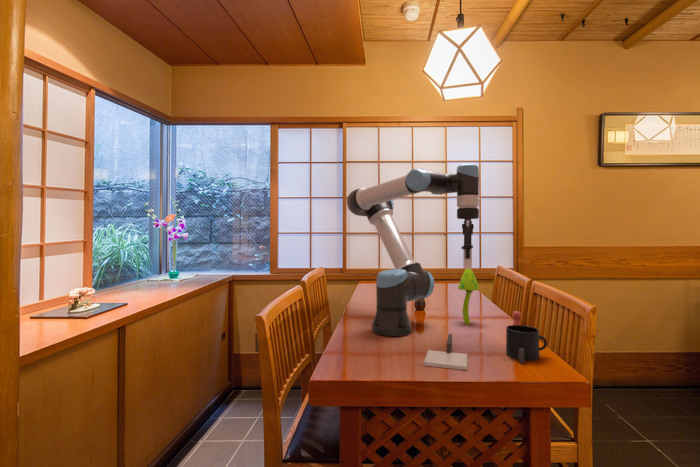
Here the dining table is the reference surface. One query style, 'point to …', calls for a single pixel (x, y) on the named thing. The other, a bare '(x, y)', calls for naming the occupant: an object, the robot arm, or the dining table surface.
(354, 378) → the dining table surface
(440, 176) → the robot arm
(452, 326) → the dining table surface
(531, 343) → the mug
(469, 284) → the mushroom
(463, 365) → the plate
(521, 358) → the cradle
